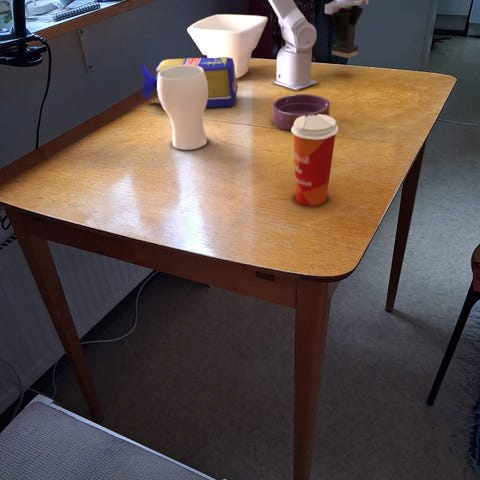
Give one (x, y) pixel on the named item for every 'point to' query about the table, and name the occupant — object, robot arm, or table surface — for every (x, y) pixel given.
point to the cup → (184, 103)
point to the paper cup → (313, 157)
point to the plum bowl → (297, 109)
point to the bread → (216, 73)
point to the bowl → (229, 37)
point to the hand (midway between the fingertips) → (344, 39)
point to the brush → (346, 44)
